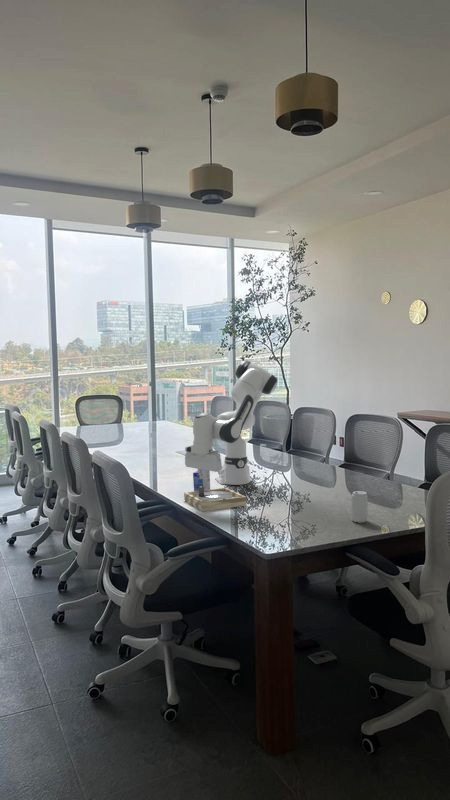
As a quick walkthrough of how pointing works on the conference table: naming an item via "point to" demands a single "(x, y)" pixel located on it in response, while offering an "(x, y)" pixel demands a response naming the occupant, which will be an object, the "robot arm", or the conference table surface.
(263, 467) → the conference table surface
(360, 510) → the beverage can
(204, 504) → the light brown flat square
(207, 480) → the ink cartridge box
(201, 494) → the dial
